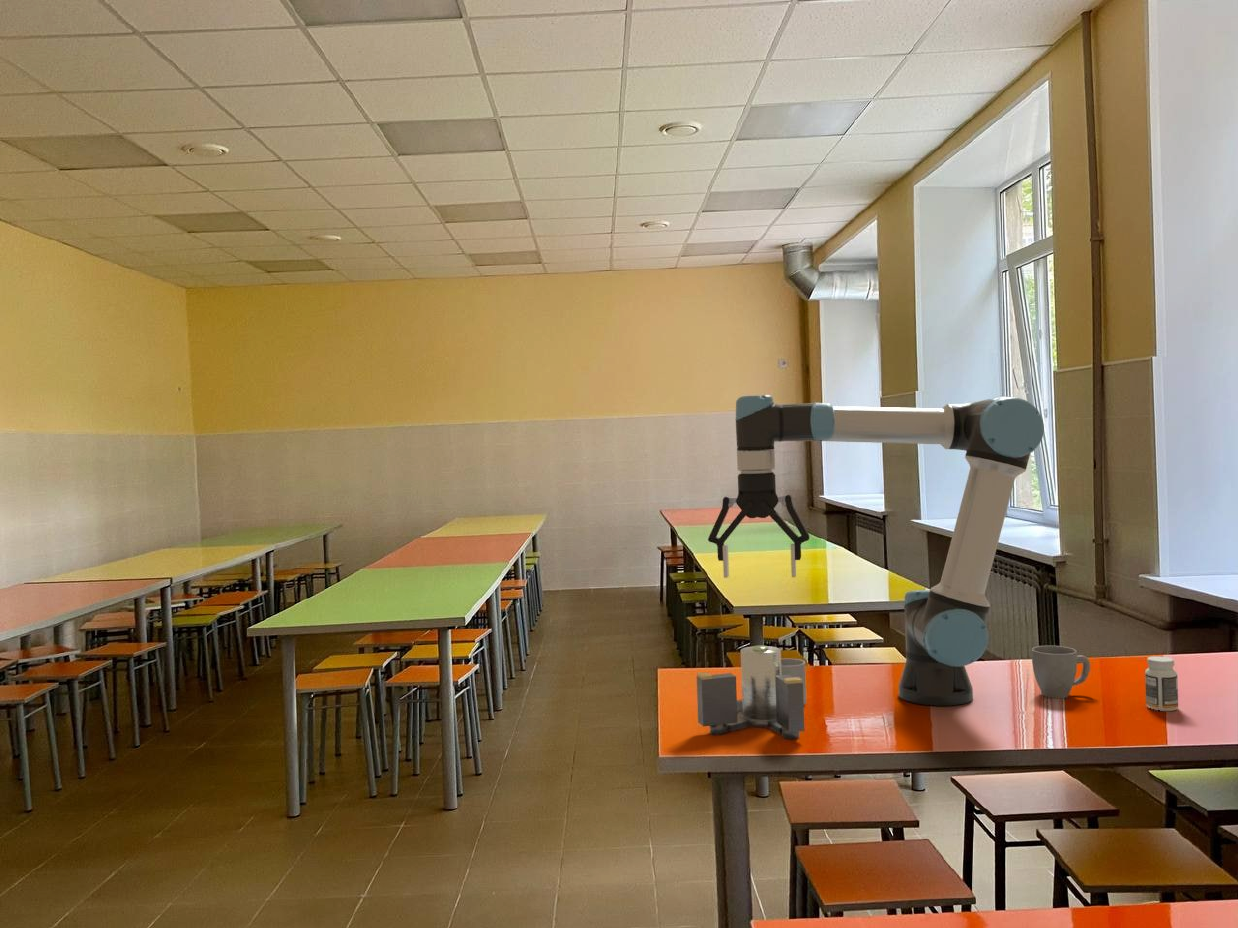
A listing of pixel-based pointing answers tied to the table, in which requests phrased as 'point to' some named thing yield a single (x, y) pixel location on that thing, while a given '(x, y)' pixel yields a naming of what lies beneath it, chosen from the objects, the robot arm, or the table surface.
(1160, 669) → the pill bottle
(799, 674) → the cup
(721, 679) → the tan-tipped grey block
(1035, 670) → the mug
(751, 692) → the stand
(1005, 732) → the table surface
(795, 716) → the grey rectangular block
